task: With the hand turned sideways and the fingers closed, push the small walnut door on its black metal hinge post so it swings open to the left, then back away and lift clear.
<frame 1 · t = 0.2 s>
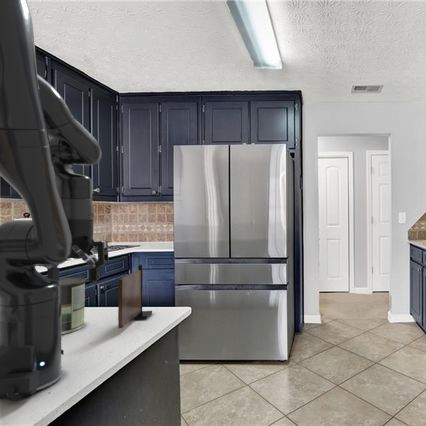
hand: (74, 282, 74), 17 cm above the countertop, tool pointing down, fingers open, 8 cm apart
hinge post: (138, 318, 97), on the countertop
coffee can: (63, 329, 88), on the countertop
door: (130, 297, 92), point 9 cm above the countertop, hinge at 0.0°
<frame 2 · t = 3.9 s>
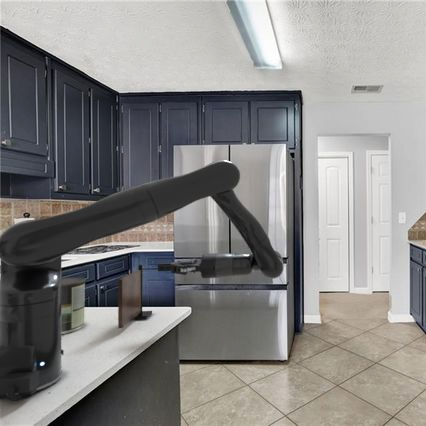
hand: (158, 267, 90), 18 cm above the countertop, tool horizontal, fingers closed
nothing on the countertop moved.
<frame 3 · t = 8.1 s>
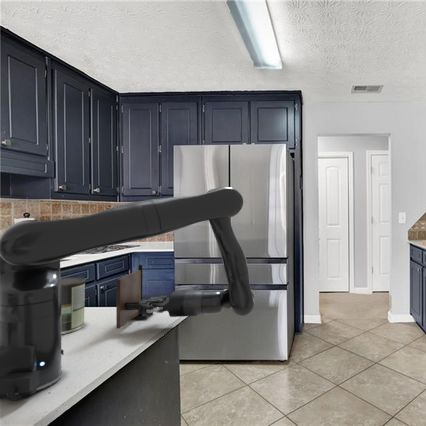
hand: (126, 305, 88), 7 cm above the countertop, tool horizontal, fingers closed
door: (129, 297, 92), point 9 cm above the countertop, hinge at 2.3°, touching gripper
everything else where it was.
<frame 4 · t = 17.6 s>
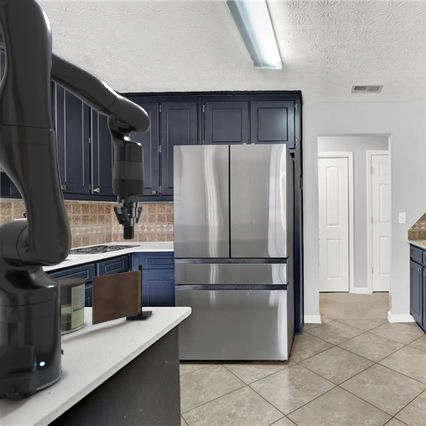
hand: (128, 239, 86), 27 cm above the countertop, tool pointing down, fingers closed
door: (117, 296, 93), point 9 cm above the countertop, hinge at 47.3°
everything else where it was.
at the end: door at +47° (first picture: +0°) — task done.
